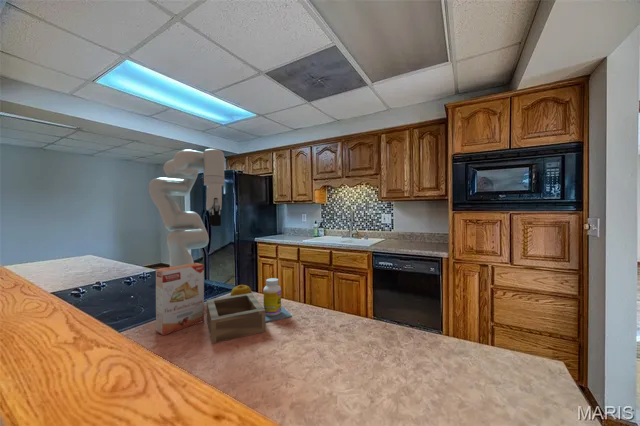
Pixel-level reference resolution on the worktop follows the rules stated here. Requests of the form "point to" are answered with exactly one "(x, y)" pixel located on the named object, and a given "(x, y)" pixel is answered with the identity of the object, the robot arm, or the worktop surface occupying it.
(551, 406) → the worktop surface
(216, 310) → the box
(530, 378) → the worktop surface
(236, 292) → the apple
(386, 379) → the worktop surface
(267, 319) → the mat
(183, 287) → the cracker box
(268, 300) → the supplement bottle
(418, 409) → the worktop surface
